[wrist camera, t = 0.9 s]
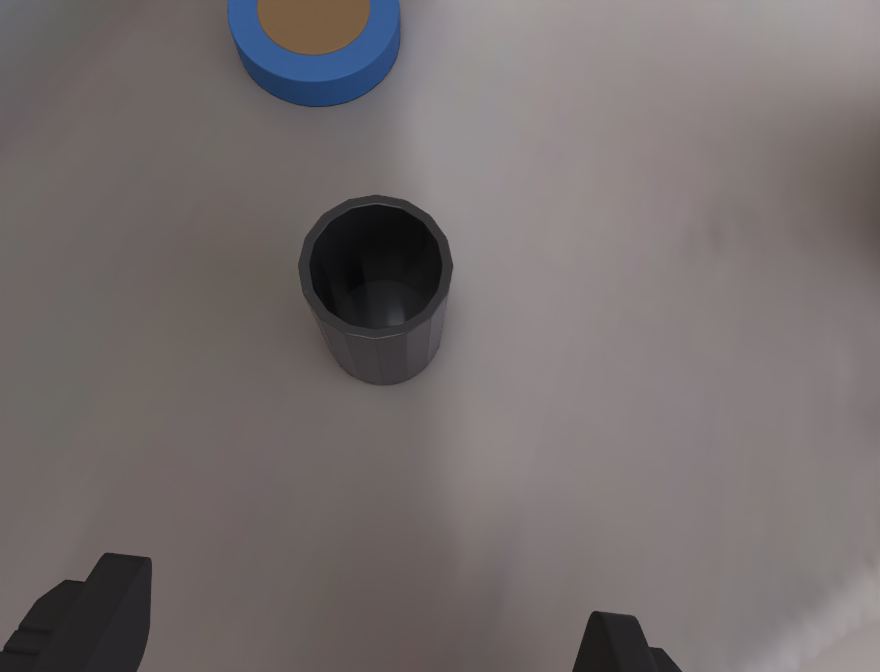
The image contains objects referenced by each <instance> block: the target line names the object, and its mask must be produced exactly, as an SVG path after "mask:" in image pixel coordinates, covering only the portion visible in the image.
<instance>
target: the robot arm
mask: <svg viewBox="0 0 880 672" xmlns="http://www.w3.org/2000/svg"><path fill="white" fill-rule="evenodd" d="M151 579H152V562H151V559H150V558H149V557H141V556H132V555H124V554H115V553H105V554H104V555H103V556H102V557H101V558H100V559H99V561H98V562H97V564H96V566H95V567H94V569H93V570H92V572H91V573H90V575H89V576H88V578H87V579H86V581H85V582H82V581H73V580H64V581H63V582H61V583H60V584H59V585H57V586H56V587H54V588H53V589H52V590H50V591H49V592H47V593H46V594H45V595H43V596H42V597H41V598H39V599H38V600H37V601H36V602H35V604H34V605H33V606H32V608H31V609H30V611H29V612H28V613H27V615H26V616H25V618H24V619H23V620H22V622H21V623H20V625H19V628H18V630H15V632H14V633H13V634H12V636H11V637H10V639H9V640H8V641H7V643H6V644H5V646H4V649H3V651H2V652H0V672H136V671H137V669H138V667H139V665H140V662H141V660H142V657H143V654H144V651H145V648H146V644H147V640H148V635H149V628H150V607H151ZM572 672H682V671H681V670H680V669H679V667H678V666H677V665H676V664H675V663H674V662H673V661H672V659H671V658H670V657H669V656H668V655H667V654H666V653H665V651H664V650H663V649H662V648H653V647H649V646H648V644H647V641H646V639H645V636H644V634H643V631H642V629H641V626H640V624H639V622H638V620H637V619H636V617H635V616H632V615H625V614H616V613H608V612H599V611H594V612H592V614H591V615H590V617H589V620H588V623H587V626H586V629H585V632H584V636H583V639H582V642H581V645H580V648H579V652H578V655H577V658H576V661H575V664H574V668H573V671H572Z"/></svg>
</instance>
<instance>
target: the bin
mask: <svg viewBox="0 0 880 672" xmlns="http://www.w3.org/2000/svg"><path fill="white" fill-rule="evenodd" d="M298 268H299V274H300V280H301V286H302V292H303V294H304V297H305V299H306V301H307V303H308V305H309V307H310V310H311V312H312V314H313V316H314V318H315V320H316V322H317V325H318V327H319V329H320V331H321V333H322V335H323V337H324V340H325V342H326V344H327V346H328V348H329V350H330V352H331V353H332V355H333V356H334V358H335V360H336V361H337V362H338V364H339V365H340V367H342V368H343V369H344V370H345V371H346V372H347V373H349V374H350V375H351V376H353V377H355V378H356V379H358V380H361V381H363V382H366V383H370V384H376V385H391V384H397V383H401V382H404V381H406V380H409V379H411V378H412V377H414V376H416V375H417V374H419V373H420V372H421V371H422V370H423V369H425V368H426V367H427V366H428V364H429V363H430V362H431V360H432V359H433V357H434V355H435V354H436V351H437V350H438V348H439V343H440V338H441V333H442V328H443V322H444V317H445V311H446V305H447V299H448V294H449V288H450V282H451V276H452V271H453V262H452V258H451V253H450V249H449V244H448V240H447V238H446V236H445V235H444V233H443V232H442V231H441V229H440V228H439V227H438V225H437V224H436V222H435V221H434V220H433V218H432V217H431V216H430V215H429V214H427V213H426V212H424V211H423V210H421V209H419V208H418V207H416V206H414V205H413V204H411V203H410V202H408V201H405V200H403V199H397V198H392V197H387V196H382V195H372V196H366V197H360V198H354V199H349V200H346V201H345V202H343V203H341V204H340V205H338V206H336V207H335V208H333V209H331V210H330V211H328V212H326V213H324V214H323V215H322V216H321V217H320V219H319V220H318V221H317V223H316V224H315V225H314V227H313V228H312V229H311V230H310V232H309V233H308V234H307V236H306V238H305V240H304V244H303V248H302V252H301V255H300V259H299V263H298Z"/></svg>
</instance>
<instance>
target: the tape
mask: <svg viewBox="0 0 880 672" xmlns="http://www.w3.org/2000/svg"><path fill="white" fill-rule="evenodd" d="M228 22H229V26H230V30H231V33H232V36H233V38H234V41H235V44H236V47H237V49H238V52H239V55H240V57H241V60H242V62H243V65H244V66H245V68H246V70H247V71H248V73H249V74H250V75H251V77H252V78H253V79H254V80H255V81H256V82H257V83H258V84H259V85H260V86H261V87H262V88H264V89H265V90H267V91H268V92H269V93H271V94H273V95H275V96H277V97H278V98H281V99H283V100H286V101H288V102H292V103H296V104H300V105H307V106H329V105H336V104H340V103H344V102H347V101H350V100H353V99H355V98H357V97H359V96H361V95H363V94H365V93H366V92H368V91H369V90H371V89H372V88H373V87H375V86H376V85H377V84H378V83H379V82H380V81H381V80H382V79H383V78H384V77H385V76H386V74H387V73H388V71H389V70H390V68H391V67H392V65H393V63H394V61H395V59H396V56H397V53H398V49H399V43H400V12H399V0H228Z"/></svg>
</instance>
